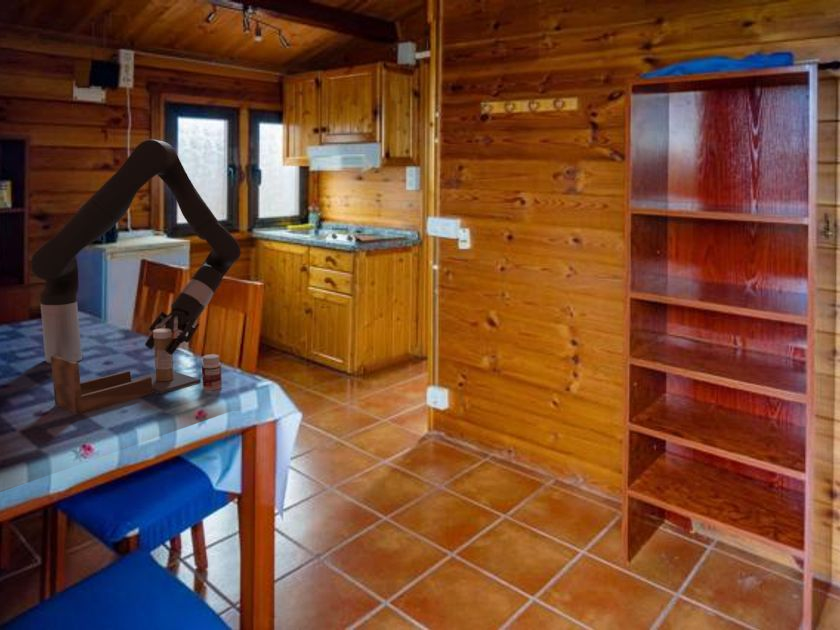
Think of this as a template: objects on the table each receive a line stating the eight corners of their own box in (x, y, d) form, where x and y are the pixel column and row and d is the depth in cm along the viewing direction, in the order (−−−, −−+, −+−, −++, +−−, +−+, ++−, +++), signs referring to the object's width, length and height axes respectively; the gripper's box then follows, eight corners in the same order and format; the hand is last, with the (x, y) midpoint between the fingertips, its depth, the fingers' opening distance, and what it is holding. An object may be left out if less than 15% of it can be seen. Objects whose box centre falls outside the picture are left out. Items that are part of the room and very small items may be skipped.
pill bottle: (205, 384, 175) (203, 353, 173) (223, 384, 176) (222, 353, 174) (200, 390, 171) (199, 358, 169) (219, 390, 171) (218, 358, 169)
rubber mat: (128, 383, 175) (127, 380, 175) (167, 372, 185) (167, 369, 185) (160, 393, 167) (160, 390, 167) (200, 382, 177) (200, 379, 177)
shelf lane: (55, 405, 158) (50, 356, 155) (129, 385, 173) (125, 340, 171) (78, 414, 152) (74, 363, 150) (152, 393, 168) (149, 346, 165)
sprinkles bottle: (157, 377, 178) (154, 327, 175) (175, 376, 179) (172, 327, 176) (154, 382, 173) (151, 332, 171) (172, 381, 174) (169, 331, 172)
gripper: (167, 288, 181) (131, 337, 174) (201, 295, 173) (165, 346, 167) (184, 305, 187) (150, 353, 180) (218, 311, 179) (184, 362, 172)
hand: (157, 350), depth 173 cm, fingers open, 8 cm apart
